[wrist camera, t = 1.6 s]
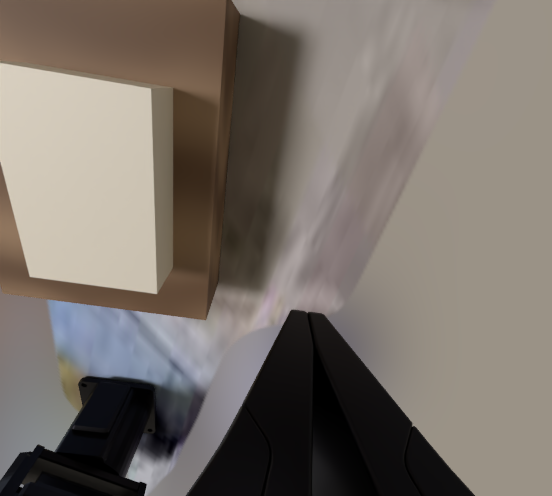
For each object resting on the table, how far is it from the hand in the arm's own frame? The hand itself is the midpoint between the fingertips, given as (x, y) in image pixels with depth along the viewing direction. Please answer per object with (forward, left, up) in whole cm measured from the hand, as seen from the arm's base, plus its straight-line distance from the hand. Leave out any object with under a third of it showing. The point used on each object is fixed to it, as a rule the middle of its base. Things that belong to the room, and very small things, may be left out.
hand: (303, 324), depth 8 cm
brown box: (0, +10, -12) cm, 16 cm away
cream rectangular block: (0, +9, -7) cm, 12 cm away
